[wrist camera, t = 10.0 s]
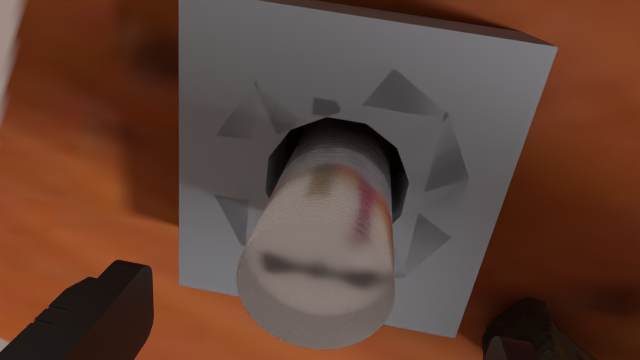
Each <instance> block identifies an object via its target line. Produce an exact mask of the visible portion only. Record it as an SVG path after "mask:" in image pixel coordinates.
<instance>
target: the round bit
mask: <svg viewBox="0 0 640 360" xmlns="http://www.w3.org/2000/svg"><path fill="white" fill-rule="evenodd" d="M236 284H237V290H238V293H239V296H240V299H241V301H242V303H243V306H244V307H245V309H246V310H247V312H248V313H249V315H250V316H251V317H252V318H253V320H254V321H255V322H256V323H257V324H258V325H260V326H261V327H262V328H263V329H264V330H266V331H267V332H268V333H270V334H271V335H273V336H275V337H276V338H278V339H281V340H283V341H285V342H287V343H290V344H293V345H296V346H300V347H304V348H310V349H322V350H325V349H337V348H343V347H347V346H351V345H353V344H356V343H359V342H361V341H363V340H364V339H366V338H368V337H370V336H371V335H372V334H374V333H375V332H376V331H377V330H378V329H379V328H380V327H381V326H382V325H383V324H384V322H385V321H386V320H387V318H388V316H389V314H390V313H391V310H392V307H393V304H394V299H395V273H394V249H393V225H392V200H391V176H390V152H389V141H388V140H386V139H385V138H384V137H383V136H381V135H380V134H379V133H378V132H376V131H375V130H374V129H373V128H371V127H370V126H369V125H368V124H366V123H360V122H354V121H348V120H342V119H337V118H331V117H325V118H322V119H319V120H317V121H314V122H311V123H308V124H307V125H306V127H305V129H304V131H303V133H302V135H301V137H300V139H299V141H298V143H297V145H296V147H295V149H294V151H293V153H292V155H291V157H290V159H289V161H288V163H287V165H286V167H285V169H284V171H283V173H282V175H281V177H280V179H279V181H278V183H277V185H276V187H275V189H274V191H273V193H272V195H271V197H270V199H269V201H268V203H267V205H266V207H265V209H264V211H263V213H262V215H261V217H260V219H259V221H258V223H257V225H256V227H255V229H254V231H253V233H252V235H251V237H250V239H249V241H248V243H247V245H246V247H245V249H244V251H243V253H242V255H241V257H240V259H239V262H238V265H237V272H236Z"/></svg>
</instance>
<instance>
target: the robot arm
mask: <svg viewBox="0 0 640 360" xmlns="http://www.w3.org/2000/svg"><path fill="white" fill-rule="evenodd" d="M153 319H154V307H153V280H152V269H151V267H150V266H148V265H143V264H138V263H133V262H128V261H123V260H116V261H114V262H113V263H112V264H111V265H110V266H109V267H108V268H107V269H106V270H105V271H104V272H103V273H102V274H101V275H100V276H99V277H98V278H93V277H88V278H86V279H84V280H82V281H80V282H78V283H76V284H74V285H73V286H71V287H69V288H67V289H66V290H64V291H63V292H62V293H61V294H60V295H59V296H58V297H57V298H56V299H55V300H54V301H53V302H52V303H51V304H50V305H49V308H48V309H45V310H44V311H43V312H42V313H41V314H39V315H38V316H37V317H36V318H35V321H34V323H30V324H29V325H28V326H27V327H26V328H25V329H24V330H23V331H22V332H21V333H20V334H19V335H18V336H17V337H16V338H14V339H13V340H12V341H11V342H10V343H9V344H8V345H7V346H6V347H5V348H4V349H3V350H2V351H1V352H0V360H134V359H135V357H136V356H137V354H138V353H139V351H140V350H141V348H142V347H143V345H144V344H145V342H146V340H147V339H148V336H149V334H150V331H151V328H152V324H153ZM484 360H539V357H538V355H537V352H536V349H535V347H534V346H533V344H532V343H530V342H525V341H520V340H515V339H510V338H505V337H500V336H495V337H493V339H492V340H491V342H490V345H489V347H488V350H487V352H486V355H485V358H484Z"/></svg>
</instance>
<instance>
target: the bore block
mask: <svg viewBox="0 0 640 360" xmlns="http://www.w3.org/2000/svg"><path fill="white" fill-rule="evenodd" d="M557 49H558V47H557V46H555V45H552V44H550V43H547V42H545V41H543V40H540V39H538V38H535V37H533V36H531V35H528V34H526V33H524V32H520V31H514V30H507V29H501V28H494V27H488V26H481V25H475V24H468V23H462V22H455V21H449V20H443V19H436V18H430V17H423V16H417V15H410V14H404V13H397V12H391V11H384V10H378V9H371V8H365V7H358V6H352V5H345V4H339V3H332V2H326V1H319V0H179V285H182V286H187V287H192V288H197V289H202V290H208V291H213V292H218V293H223V294H228V295H233V296H238V297H240V296H239V293H238V290H237V284H236V272H237V265H238V262H239V259H240V257H241V255H242V253H243V251H244V249H245V247H246V245H247V243H248V241H249V239H250V237H251V235H252V233H253V231H254V229H255V227H256V225H257V223H258V221H259V219H260V217H261V215H262V213H263V211H264V209H265V207H266V205H267V203H268V201H269V199H270V197H271V195H272V193H273V191H274V189H275V187H276V185H277V183H278V181H279V179H280V177H281V175H282V173H283V171H284V169H285V167H286V165H287V163H288V161H289V159H288V157H287V155H286V146H287V137H288V132H289V131H290V130H292V129H294V128H297V127H300V126H303V125H305V124H308V123H311V122H314V121H317V120H319V119H322V118H325V117H331V118H337V119H342V120H348V121H354V122H360V123H366V124H368V125H369V126H370V127H371V128H373V129H374V130H375V131H376V132H378V133H379V134H380V135H381V136H383V137H384V138H385V139H386V140H388V141H389V142H390V143H391V144H393V145H394V146H395V147H396V148H397V149H398V152H399V155H400V158H401V161H400V166H399V170H398V173H397V174H396V175H395V176H394V177H393V178H392V179H391V200H392V225H393V249H394V273H395V299H394V304H393V307H392V310H391V313H390V314H389V316H388V318H387V320H386V321H385V322H384V324H383V325H388V326H393V327H398V328H403V329H409V330H414V331H419V332H424V333H429V334H434V335H439V336H445V337H450V338H455V337H456V334H457V331H458V328H459V326H460V323H461V320H462V317H463V314H464V311H465V309H466V306H467V303H468V300H469V297H470V295H471V292H472V289H473V286H474V283H475V280H476V278H477V275H478V272H479V269H480V266H481V264H482V261H483V258H484V255H485V252H486V249H487V247H488V244H489V241H490V238H491V235H492V233H493V230H494V227H495V224H496V221H497V218H498V216H499V213H500V210H501V207H502V204H503V202H504V199H505V196H506V193H507V190H508V187H509V185H510V182H511V179H512V176H513V173H514V171H515V168H516V165H517V162H518V159H519V156H520V154H521V151H522V148H523V145H524V142H525V140H526V137H527V134H528V131H529V128H530V125H531V123H532V120H533V117H534V114H535V111H536V109H537V106H538V103H539V100H540V97H541V94H542V92H543V89H544V86H545V83H546V80H547V78H548V75H549V72H550V69H551V66H552V63H553V61H554V58H555V55H556V52H557Z"/></svg>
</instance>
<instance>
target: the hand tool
mask: <svg viewBox="0 0 640 360" xmlns="http://www.w3.org/2000/svg"><path fill="white" fill-rule="evenodd" d="M495 336H500V337H505V338H510V339H515V340H520V341H525V342H530V343H532V344H533V346H534V347H535V349H536V352H537V355H538V357H539V360H598V359H596V358H594V357H592V356H590V355H589V354H588V353H587V352H586V351H585V350H583V349H582V348H580V347H578V346H577V345H576V344H575V343H574V342H572V341H571V340H570V339H569V338H568V337H566V336H565V335H564V334H563V333H562V332H560V331H559V330H558V329H557V328H556V326H555V324H554V321H553V319H552V317H551V315H550V313H549V312H548V310H547V309H546V304H545V302H542V301H539V300H535V299H531V298H526V299H524V300H522V301H521V302H519V303H518V304H517V305H515V306H514V307H512V308H509V309H507V310H506V311H504V312H503V313H502V314H501V315H499V316H498V317H497V318H496V319H495V320H494V321H493V322H492V323H491V324H490V325H489V326H488V327H487V329H486V331H485V333H484V335H483V338H482V348H483V360H484V358H485V355H486V352H487V350H488V347H489V345H490V342H491V340H492V339H493V337H495Z"/></svg>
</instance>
